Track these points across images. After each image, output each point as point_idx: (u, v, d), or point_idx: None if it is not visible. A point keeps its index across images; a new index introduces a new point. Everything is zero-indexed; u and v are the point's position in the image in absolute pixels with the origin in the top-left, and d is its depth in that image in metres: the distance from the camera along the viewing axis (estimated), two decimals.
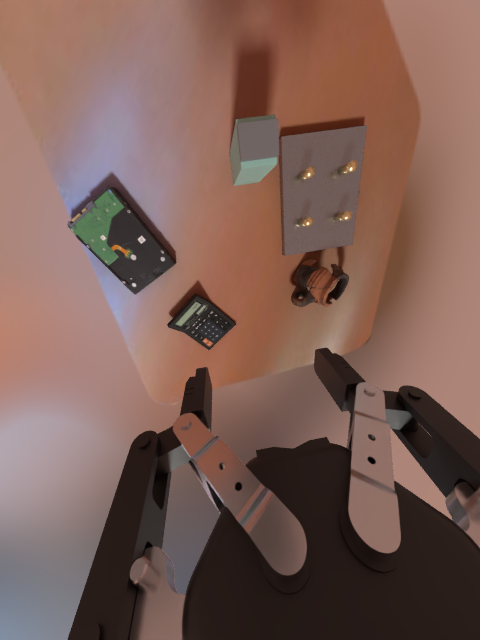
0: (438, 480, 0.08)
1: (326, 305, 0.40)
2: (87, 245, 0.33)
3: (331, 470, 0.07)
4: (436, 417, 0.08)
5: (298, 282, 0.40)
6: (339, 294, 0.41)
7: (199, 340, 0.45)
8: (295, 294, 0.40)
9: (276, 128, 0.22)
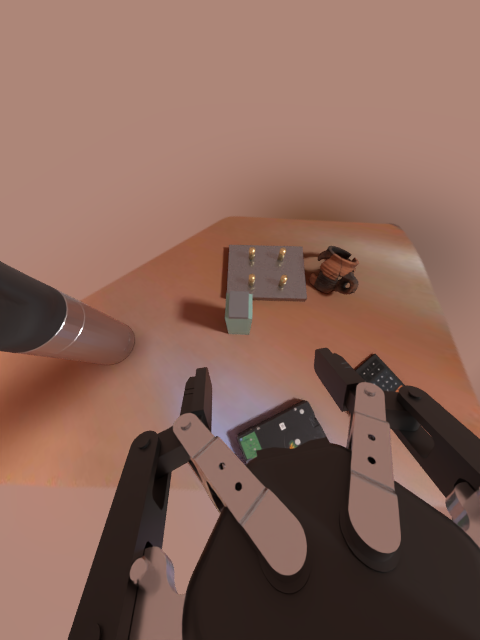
0: (438, 480, 0.08)
1: (357, 262, 0.42)
2: None
3: (331, 470, 0.07)
4: (436, 417, 0.08)
5: (331, 287, 0.43)
6: (345, 252, 0.44)
7: None
8: (344, 290, 0.42)
9: (234, 292, 0.32)
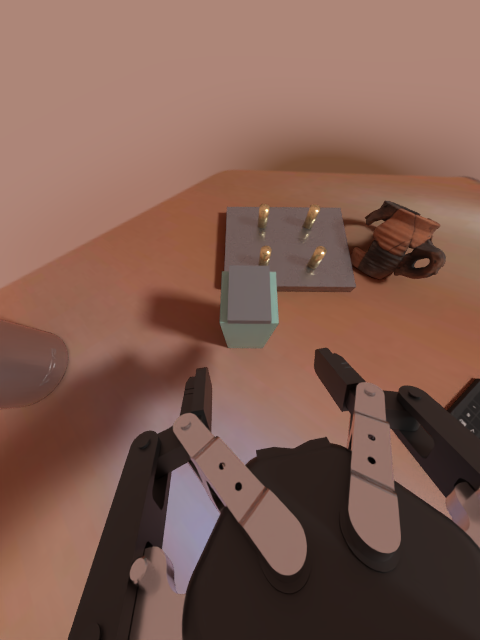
0: (438, 480, 0.08)
1: None
2: None
3: (331, 470, 0.07)
4: (436, 417, 0.08)
5: (390, 269, 0.26)
6: (409, 211, 0.27)
7: None
8: (415, 271, 0.25)
9: (239, 267, 0.15)
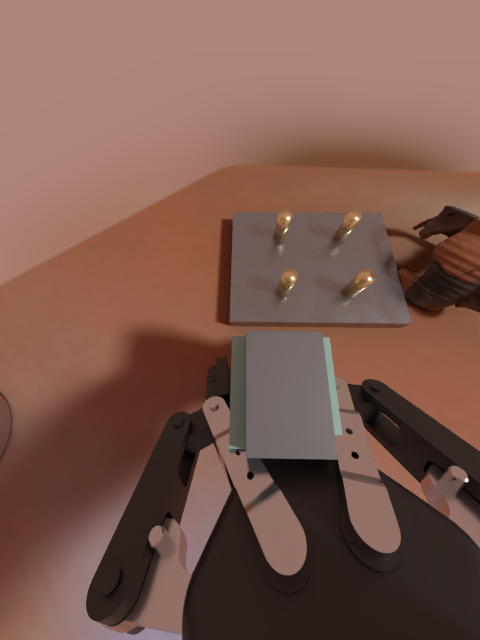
0: (408, 465, 0.09)
1: None
2: None
3: (331, 470, 0.07)
4: (397, 406, 0.09)
5: (453, 300, 0.19)
6: None
7: None
8: None
9: (266, 336, 0.08)
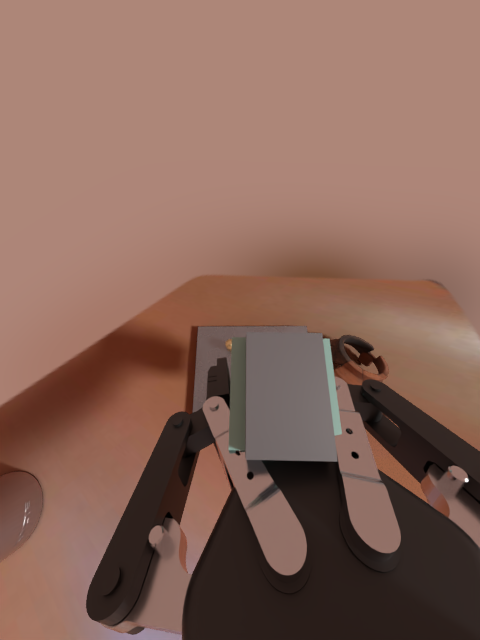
0: (408, 465, 0.09)
1: (386, 368, 0.26)
2: None
3: (331, 470, 0.07)
4: (397, 406, 0.09)
5: None
6: (364, 344, 0.29)
7: None
8: None
9: (265, 337, 0.08)
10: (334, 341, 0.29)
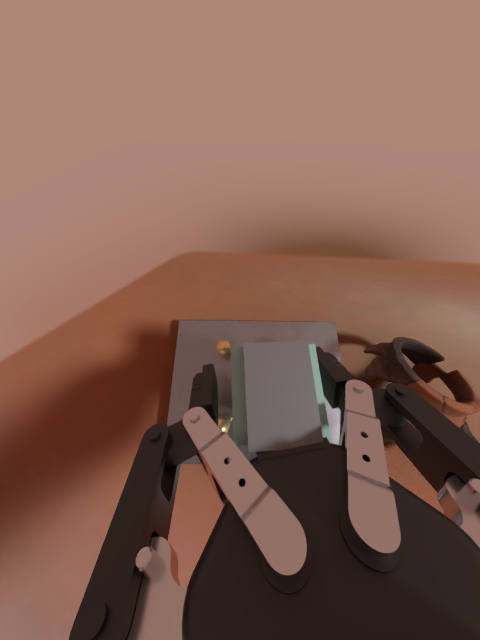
0: (428, 474, 0.08)
1: (474, 390, 0.16)
2: None
3: (331, 470, 0.07)
4: (423, 413, 0.09)
5: None
6: (428, 351, 0.19)
7: None
8: None
9: (259, 347, 0.09)
10: (381, 346, 0.19)
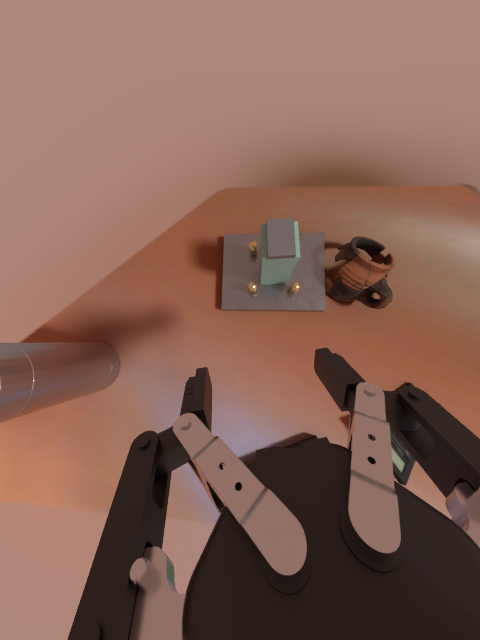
0: (438, 480, 0.08)
1: (394, 262, 0.29)
2: None
3: (331, 470, 0.07)
4: (436, 417, 0.08)
5: (352, 298, 0.32)
6: (376, 244, 0.31)
7: None
8: (370, 303, 0.30)
9: (273, 220, 0.23)
10: (347, 243, 0.31)
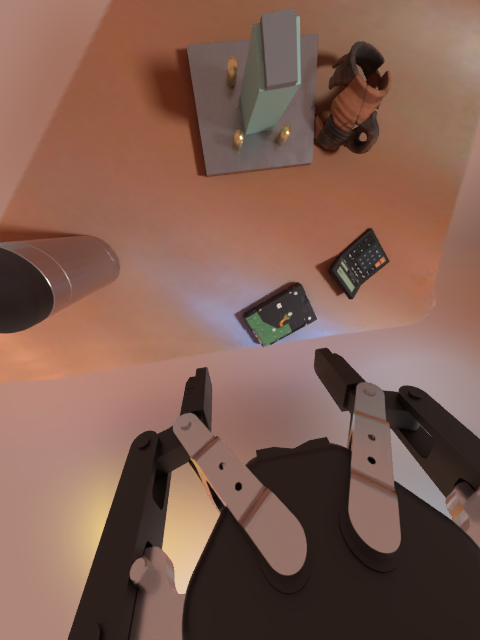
0: (438, 480, 0.08)
1: (389, 84, 0.26)
2: (277, 340, 0.47)
3: (331, 470, 0.07)
4: (436, 417, 0.08)
5: (340, 143, 0.31)
6: (376, 55, 0.26)
7: (374, 271, 0.44)
8: (356, 147, 0.31)
9: (270, 16, 0.18)
10: (345, 56, 0.26)
